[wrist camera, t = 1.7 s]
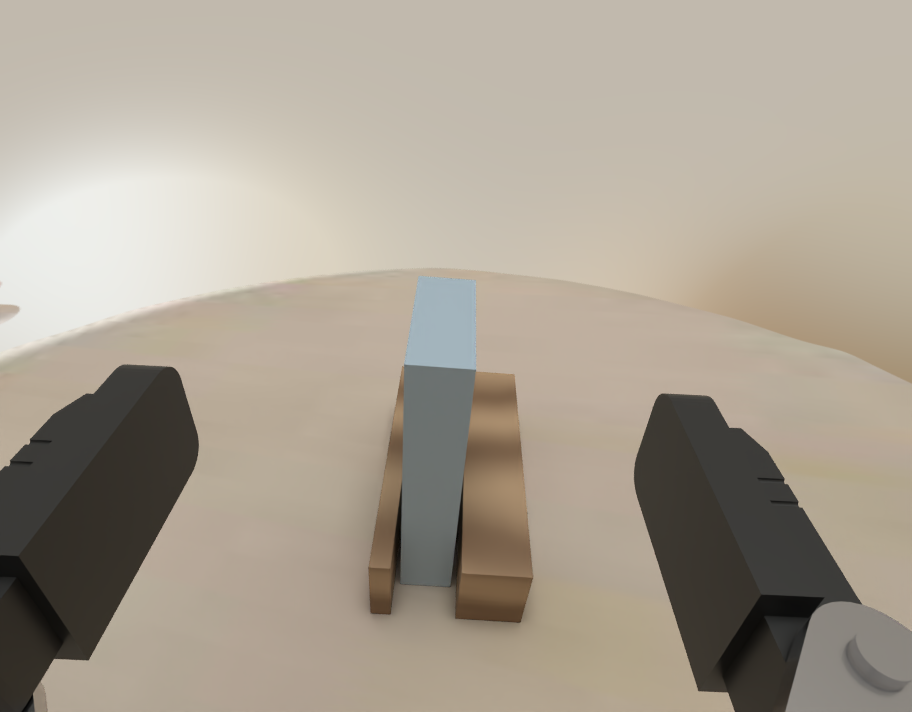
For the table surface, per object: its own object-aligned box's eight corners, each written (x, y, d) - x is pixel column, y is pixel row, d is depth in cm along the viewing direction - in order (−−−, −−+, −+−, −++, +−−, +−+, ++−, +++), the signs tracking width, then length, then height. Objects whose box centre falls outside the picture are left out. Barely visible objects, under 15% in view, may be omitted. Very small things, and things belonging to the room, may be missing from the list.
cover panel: (450, 586, 35) (476, 369, 24) (400, 583, 35) (404, 364, 24) (453, 487, 42) (475, 280, 31) (411, 485, 42) (418, 276, 31)
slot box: (520, 622, 34) (532, 577, 31) (370, 612, 34) (368, 567, 31) (506, 418, 48) (514, 374, 45) (401, 411, 48) (402, 366, 45)
